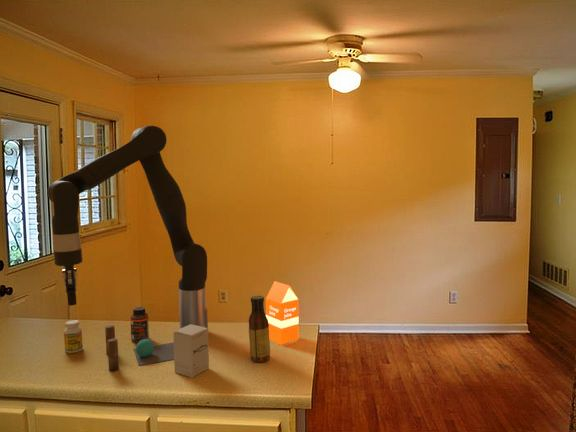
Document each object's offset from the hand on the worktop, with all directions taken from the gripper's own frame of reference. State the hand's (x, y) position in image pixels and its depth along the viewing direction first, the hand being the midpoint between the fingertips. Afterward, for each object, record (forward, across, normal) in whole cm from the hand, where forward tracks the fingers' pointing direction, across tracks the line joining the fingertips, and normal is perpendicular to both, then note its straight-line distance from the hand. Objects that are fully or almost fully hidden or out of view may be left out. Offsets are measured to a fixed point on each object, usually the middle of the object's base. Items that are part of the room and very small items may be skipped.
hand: (72, 304), depth 138 cm
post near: (+19, -9, -10) cm, 23 cm away
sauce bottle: (+20, -21, -52) cm, 59 cm away
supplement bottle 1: (+19, +12, +1) cm, 23 cm away
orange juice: (+21, -9, -65) cm, 69 cm away
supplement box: (+20, -20, -31) cm, 42 cm away
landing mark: (+19, -3, -24) cm, 31 cm away
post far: (+19, +4, -10) cm, 22 cm away
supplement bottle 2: (+20, +12, -20) cm, 31 cm away
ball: (+16, -3, -20) cm, 26 cm away
